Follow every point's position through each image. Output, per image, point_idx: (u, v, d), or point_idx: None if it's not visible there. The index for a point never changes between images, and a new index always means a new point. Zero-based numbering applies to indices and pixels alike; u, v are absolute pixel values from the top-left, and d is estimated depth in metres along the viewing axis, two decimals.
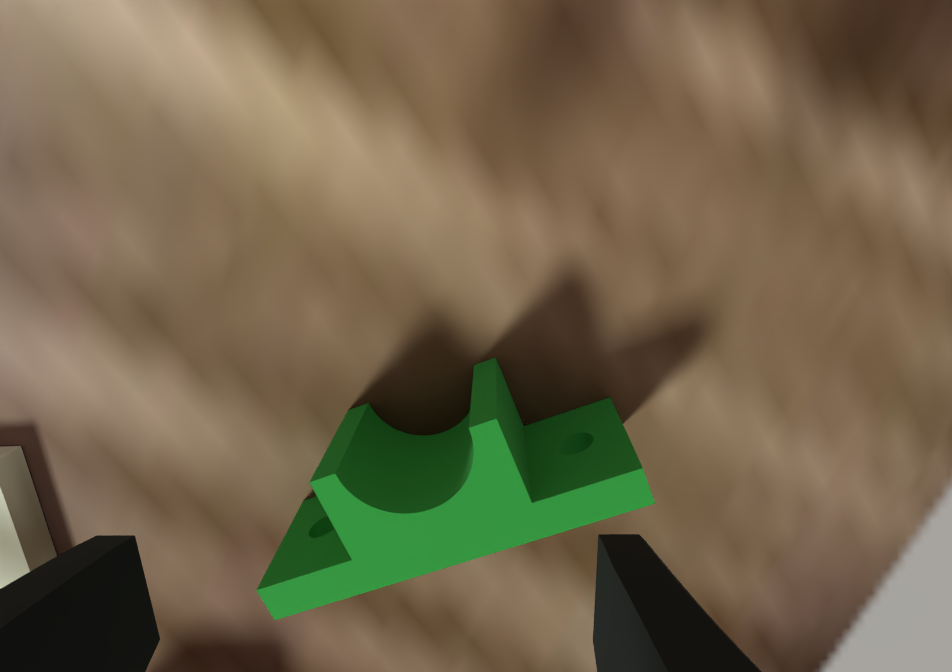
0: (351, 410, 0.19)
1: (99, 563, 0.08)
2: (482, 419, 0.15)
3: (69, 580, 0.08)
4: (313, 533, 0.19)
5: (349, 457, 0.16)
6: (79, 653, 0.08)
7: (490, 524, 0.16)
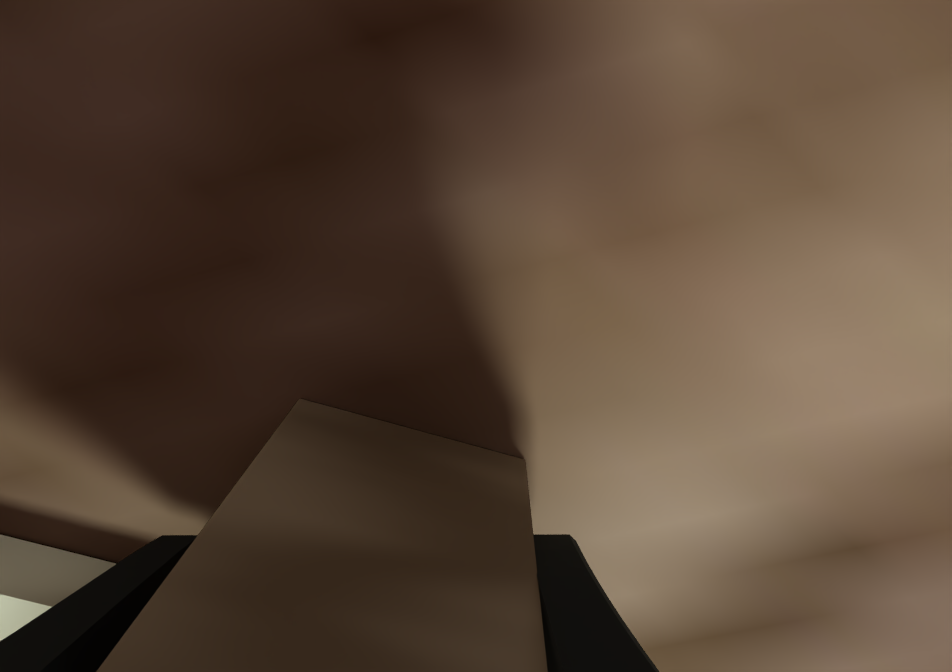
0: None
1: (171, 563, 0.08)
2: None
3: (146, 580, 0.08)
4: None
5: None
6: None
7: None
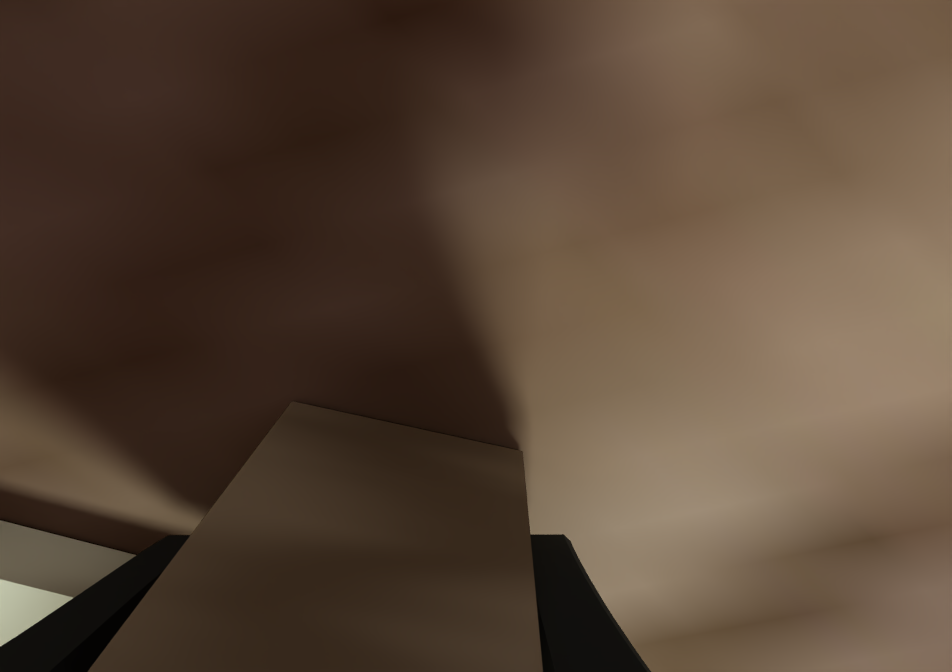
0: None
1: None
2: None
3: (153, 580, 0.08)
4: None
5: None
6: None
7: None
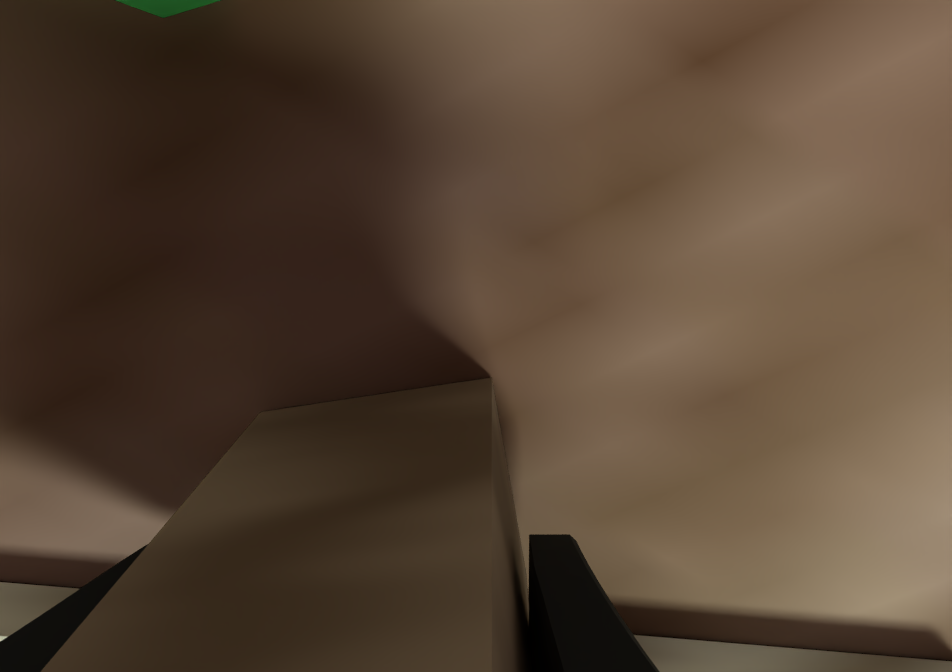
0: None
1: None
2: None
3: None
4: None
5: None
6: None
7: None
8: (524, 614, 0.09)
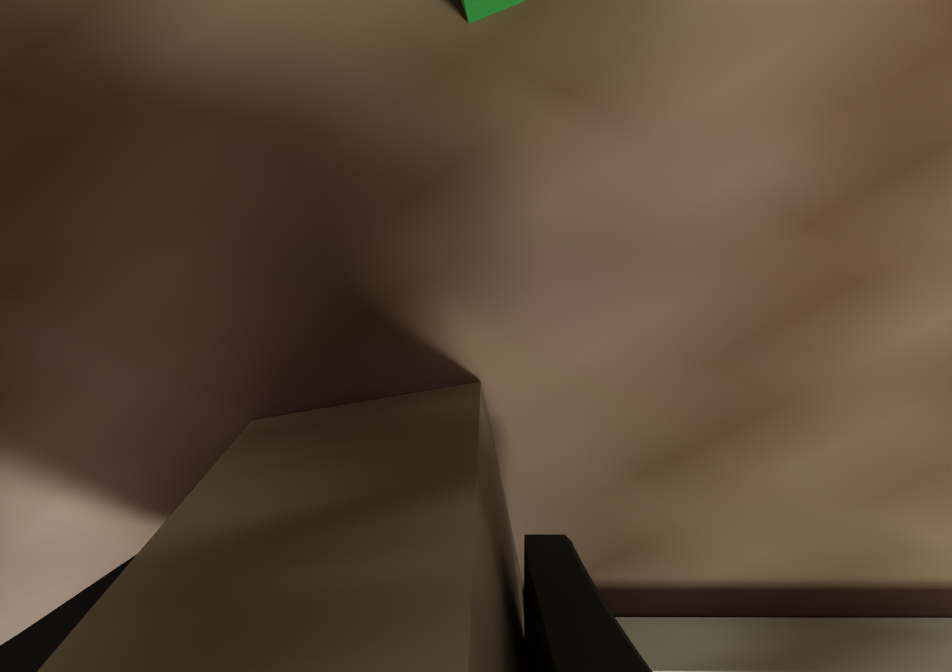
0: None
1: None
2: None
3: None
4: None
5: None
6: None
7: None
8: (516, 617, 0.09)
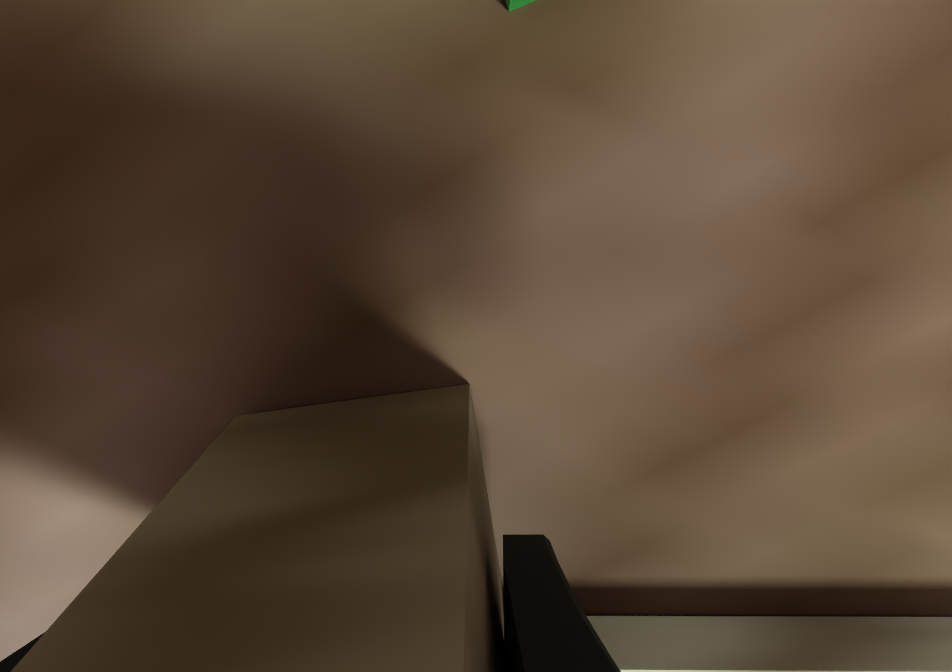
0: None
1: None
2: None
3: None
4: None
5: None
6: None
7: None
8: (498, 620, 0.09)
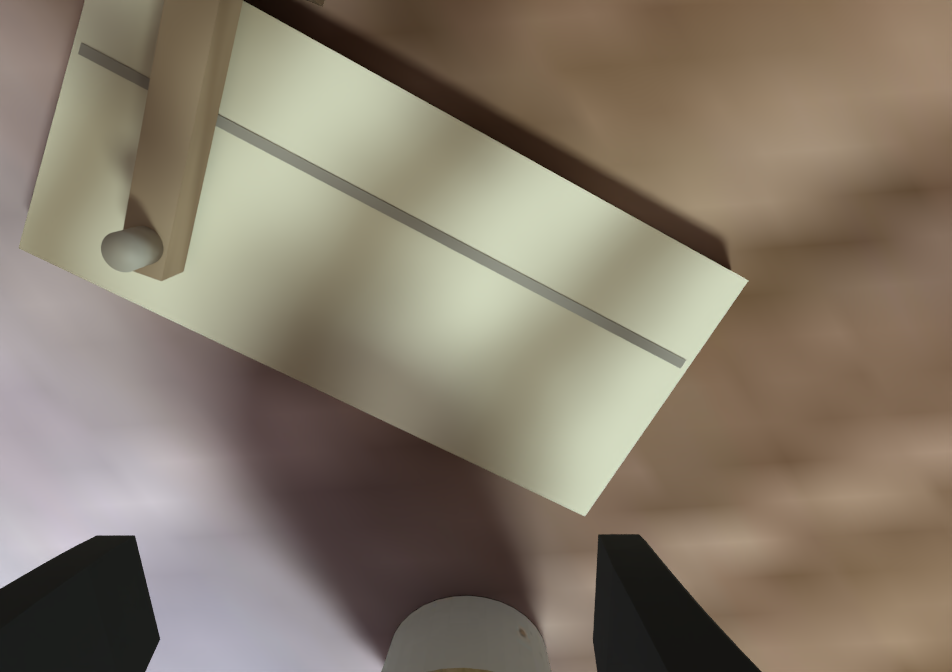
0: None
1: (99, 563, 0.08)
2: None
3: (69, 580, 0.08)
4: None
5: None
6: (79, 653, 0.08)
7: None
8: None
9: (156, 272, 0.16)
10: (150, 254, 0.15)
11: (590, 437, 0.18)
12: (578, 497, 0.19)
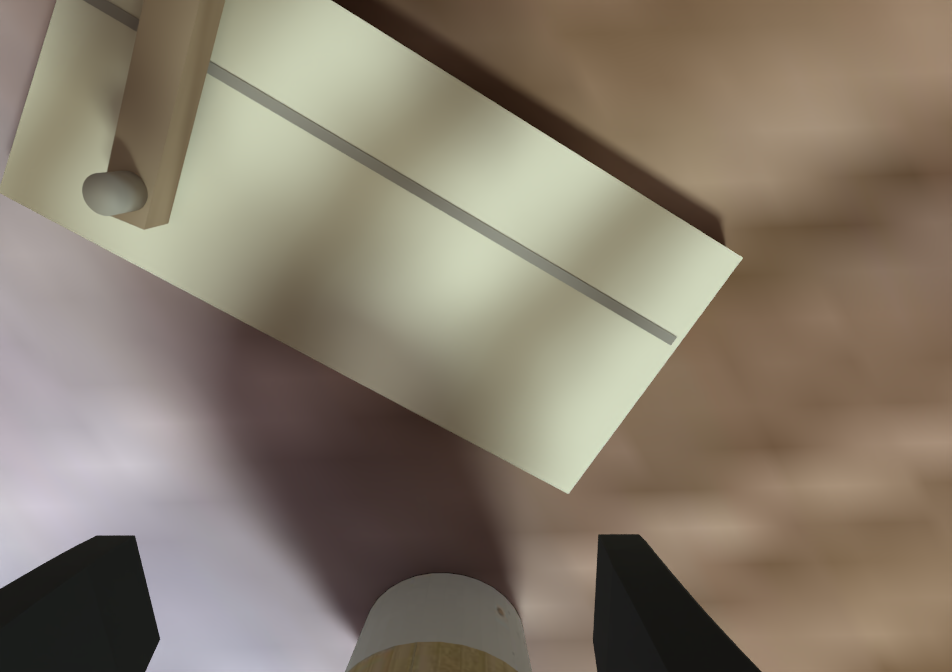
0: None
1: (99, 563, 0.08)
2: None
3: (69, 580, 0.08)
4: None
5: None
6: (79, 653, 0.08)
7: None
8: None
9: (140, 220, 0.15)
10: (133, 199, 0.14)
11: (577, 412, 0.18)
12: (562, 474, 0.19)
